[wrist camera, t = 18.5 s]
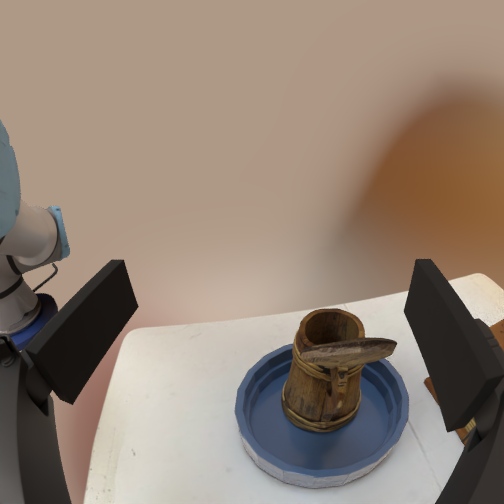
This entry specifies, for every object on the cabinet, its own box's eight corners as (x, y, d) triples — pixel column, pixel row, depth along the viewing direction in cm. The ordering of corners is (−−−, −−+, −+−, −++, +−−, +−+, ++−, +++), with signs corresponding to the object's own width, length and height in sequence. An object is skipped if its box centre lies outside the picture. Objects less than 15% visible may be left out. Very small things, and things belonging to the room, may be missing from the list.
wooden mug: (274, 470, 21) (268, 346, 13) (282, 371, 33) (279, 235, 25) (366, 466, 20) (438, 336, 12) (353, 369, 32) (377, 234, 24)
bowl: (212, 406, 30) (205, 383, 28) (326, 344, 37) (328, 320, 35) (305, 520, 16) (310, 513, 14) (423, 416, 24) (438, 393, 22)
